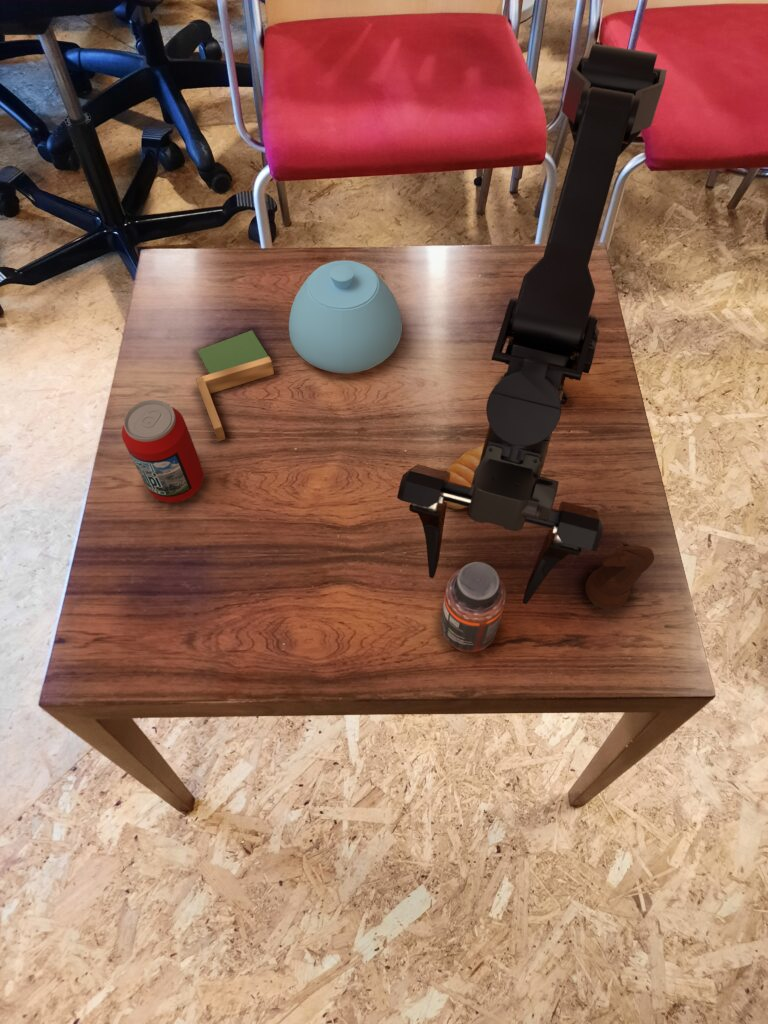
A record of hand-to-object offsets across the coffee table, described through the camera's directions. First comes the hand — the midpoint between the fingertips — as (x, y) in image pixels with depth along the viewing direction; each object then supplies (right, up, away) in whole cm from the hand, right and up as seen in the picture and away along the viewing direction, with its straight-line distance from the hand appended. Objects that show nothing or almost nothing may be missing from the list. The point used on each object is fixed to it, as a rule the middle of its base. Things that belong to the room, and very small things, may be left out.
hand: (477, 589), depth 71 cm
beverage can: (-34, +11, +17) cm, 39 cm away
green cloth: (-29, +28, +27) cm, 49 cm away
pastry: (+2, +11, +17) cm, 20 cm away
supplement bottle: (0, -5, +7) cm, 8 cm away
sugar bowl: (-14, +31, +29) cm, 44 cm away
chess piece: (+15, -1, +9) cm, 18 cm away
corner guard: (-27, +21, +23) cm, 41 cm away
